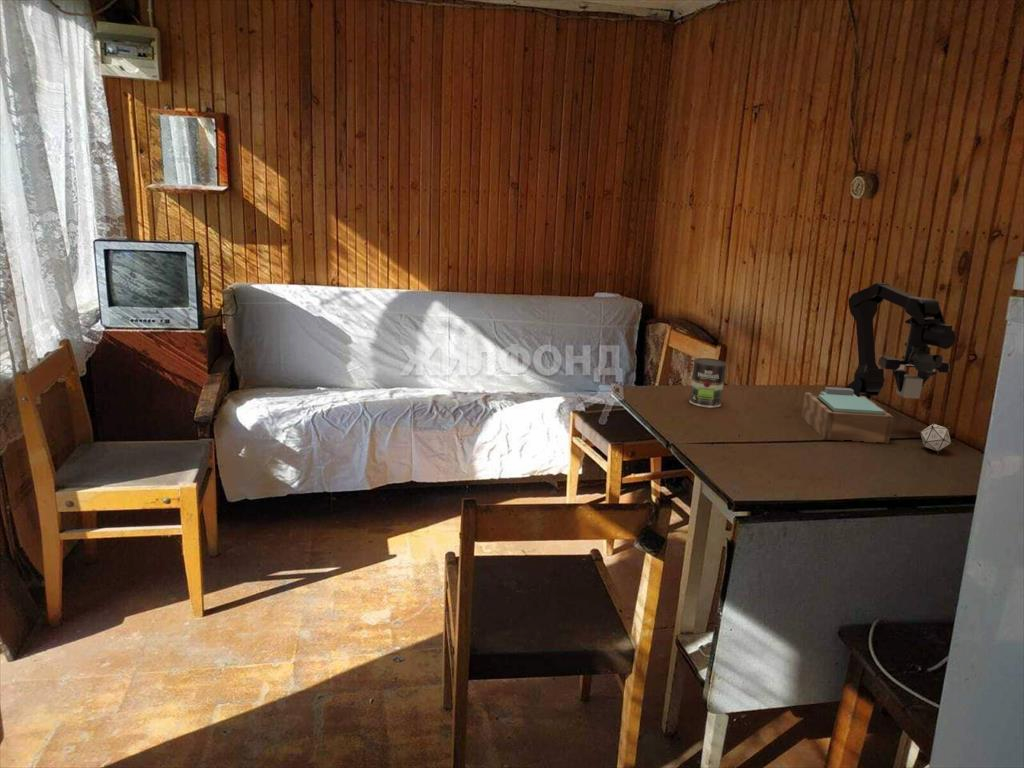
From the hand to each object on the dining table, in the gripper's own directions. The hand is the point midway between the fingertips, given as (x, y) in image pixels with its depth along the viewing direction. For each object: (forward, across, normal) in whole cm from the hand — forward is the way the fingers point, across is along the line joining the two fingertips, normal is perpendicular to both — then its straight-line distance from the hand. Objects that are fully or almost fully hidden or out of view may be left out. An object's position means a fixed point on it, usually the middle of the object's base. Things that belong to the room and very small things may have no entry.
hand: (908, 391), depth 236 cm
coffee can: (+13, -56, +18) cm, 60 cm away
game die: (+13, +2, -17) cm, 21 cm away
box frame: (+12, -18, -2) cm, 22 cm away
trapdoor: (+4, -18, -2) cm, 19 cm away
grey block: (+1, 0, 0) cm, 1 cm away
